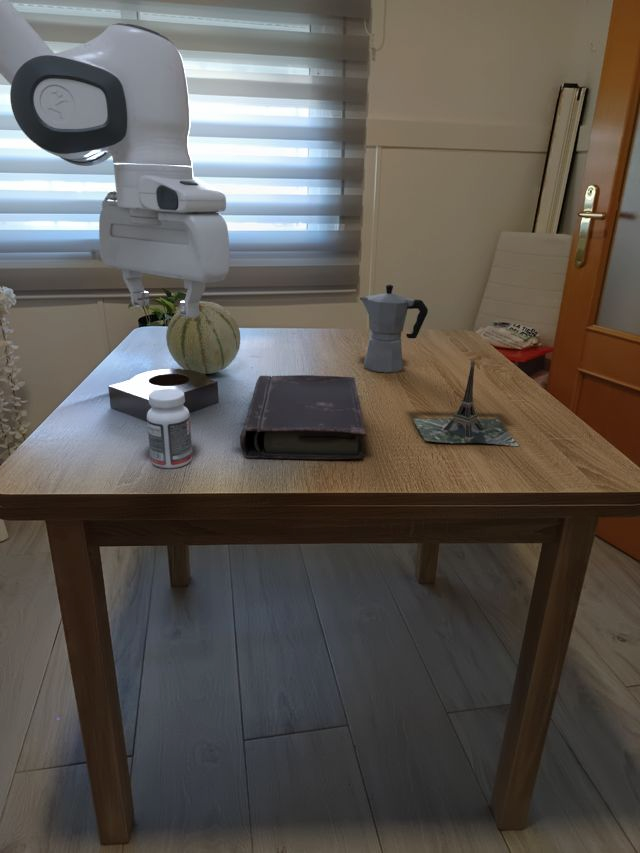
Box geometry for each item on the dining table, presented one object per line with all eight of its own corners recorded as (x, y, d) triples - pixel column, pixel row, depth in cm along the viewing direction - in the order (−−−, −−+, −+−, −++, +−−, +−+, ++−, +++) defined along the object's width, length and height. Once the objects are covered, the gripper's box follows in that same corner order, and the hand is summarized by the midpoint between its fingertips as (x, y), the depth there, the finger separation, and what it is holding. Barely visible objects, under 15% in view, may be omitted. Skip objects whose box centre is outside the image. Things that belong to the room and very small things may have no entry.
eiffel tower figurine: (498, 421, 99) (510, 346, 94) (519, 446, 90) (534, 363, 84) (412, 420, 98) (419, 344, 93) (424, 445, 89) (434, 361, 84)
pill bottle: (193, 451, 84) (189, 386, 80) (191, 468, 79) (188, 400, 75) (152, 452, 83) (147, 387, 79) (148, 470, 78) (142, 401, 74)
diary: (239, 459, 82) (239, 426, 80) (255, 399, 105) (255, 373, 103) (369, 462, 82) (372, 430, 80) (357, 402, 105) (358, 376, 104)
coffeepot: (347, 367, 126) (351, 284, 119) (364, 357, 134) (370, 279, 127) (413, 379, 120) (422, 292, 113) (428, 368, 127) (437, 286, 120)
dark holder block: (155, 425, 92) (154, 401, 91) (104, 405, 100) (102, 383, 98) (225, 400, 104) (224, 379, 103) (174, 384, 112) (173, 364, 110)
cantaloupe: (235, 361, 128) (234, 293, 122) (246, 381, 115) (244, 306, 109) (167, 364, 124) (162, 294, 118) (170, 385, 111) (164, 307, 105)
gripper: (79, 190, 71) (93, 303, 76) (194, 195, 60) (201, 327, 65) (123, 190, 75) (133, 297, 81) (236, 195, 64) (240, 318, 70)
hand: (164, 310), depth 73 cm, fingers open, 8 cm apart
